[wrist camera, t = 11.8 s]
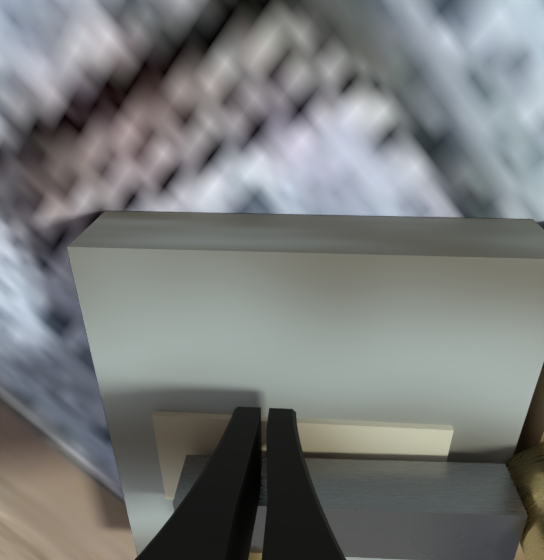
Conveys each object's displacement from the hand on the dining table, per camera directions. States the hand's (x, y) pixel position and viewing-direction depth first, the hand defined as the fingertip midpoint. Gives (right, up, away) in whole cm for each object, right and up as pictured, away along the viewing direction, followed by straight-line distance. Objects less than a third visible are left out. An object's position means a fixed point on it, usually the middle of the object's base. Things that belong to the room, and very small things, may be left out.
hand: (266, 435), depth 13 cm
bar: (+4, -2, +1) cm, 4 cm away
